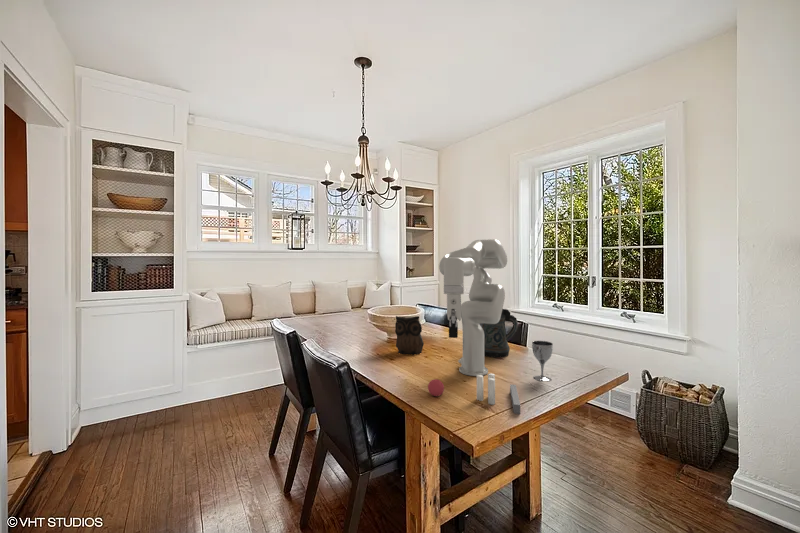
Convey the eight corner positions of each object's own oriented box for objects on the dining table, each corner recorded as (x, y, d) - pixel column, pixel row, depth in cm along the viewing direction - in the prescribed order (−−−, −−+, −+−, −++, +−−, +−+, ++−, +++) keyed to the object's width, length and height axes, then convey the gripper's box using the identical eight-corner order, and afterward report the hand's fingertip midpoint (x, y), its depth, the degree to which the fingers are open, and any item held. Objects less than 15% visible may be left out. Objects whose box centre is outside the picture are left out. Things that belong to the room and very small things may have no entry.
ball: (424, 394, 132) (424, 378, 132) (437, 391, 135) (437, 375, 135) (434, 400, 127) (434, 383, 127) (447, 396, 130) (447, 380, 130)
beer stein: (473, 349, 193) (473, 303, 192) (508, 348, 194) (508, 303, 193) (482, 358, 176) (482, 308, 175) (520, 357, 178) (520, 307, 177)
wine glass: (540, 382, 142) (540, 346, 142) (528, 376, 150) (528, 341, 150) (556, 380, 145) (557, 344, 144) (544, 374, 152) (544, 340, 152)
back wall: (520, 414, 115) (520, 405, 115) (513, 413, 116) (513, 404, 116) (515, 392, 133) (515, 384, 133) (510, 392, 133) (510, 384, 133)
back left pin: (486, 397, 129) (486, 374, 129) (491, 395, 130) (491, 373, 130) (491, 399, 127) (491, 376, 127) (496, 397, 128) (496, 374, 128)
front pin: (475, 399, 128) (475, 375, 127) (480, 397, 129) (480, 374, 128) (479, 401, 126) (479, 377, 125) (484, 399, 127) (484, 376, 126)
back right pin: (486, 402, 124) (486, 379, 124) (491, 401, 125) (491, 377, 125) (491, 405, 122) (491, 381, 122) (496, 403, 123) (496, 379, 123)
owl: (424, 353, 185) (424, 316, 185) (403, 357, 179) (403, 318, 179) (412, 348, 196) (412, 312, 196) (392, 351, 191) (392, 314, 190)
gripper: (464, 291, 124) (463, 340, 125) (463, 288, 142) (462, 331, 142) (442, 291, 126) (442, 339, 126) (444, 288, 143) (444, 330, 143)
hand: (453, 334), depth 134 cm, fingers open, 9 cm apart
